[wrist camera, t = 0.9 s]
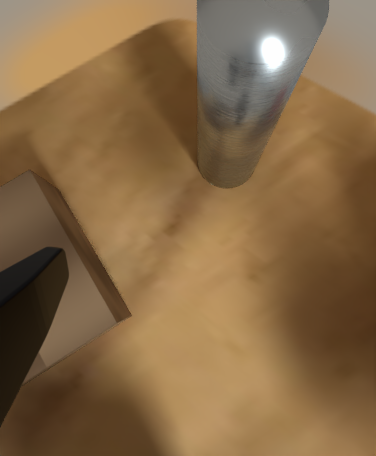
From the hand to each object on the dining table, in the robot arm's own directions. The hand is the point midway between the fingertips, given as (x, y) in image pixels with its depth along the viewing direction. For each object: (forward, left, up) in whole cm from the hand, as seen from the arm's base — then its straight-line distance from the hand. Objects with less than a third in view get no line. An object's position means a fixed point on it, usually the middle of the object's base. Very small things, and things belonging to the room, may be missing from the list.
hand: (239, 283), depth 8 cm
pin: (+8, -2, -13) cm, 16 cm away
